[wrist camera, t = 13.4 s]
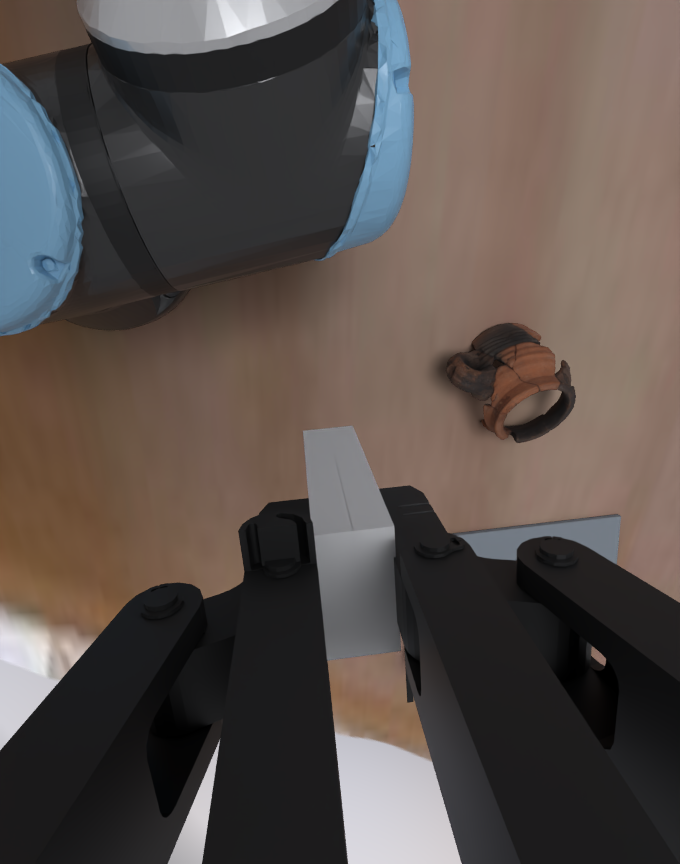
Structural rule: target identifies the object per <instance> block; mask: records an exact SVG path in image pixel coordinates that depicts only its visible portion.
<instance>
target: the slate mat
mask: <svg viewBox="0 0 680 864" xmlns="http://www.w3.org/2000/svg"><path fill="white" fill-rule="evenodd" d="M620 519H621V516H620V515H618V514H615V515H607V516H598V517H590V518H581V519H573V520H564V521H556V522H547V523H538V524H530V525H521V526H513V527H504V528H496V529H487V530H479V531H470V532H462V533H453V534H454V535H456V536H458V537H461V538H463V539H464V540H465V541H466V542H467V543H469V544H470V546H471V547H472V549H473V550H474V552H475V553H476V555H477V556H479V557H483V558H491V559H502V560H517V548H518V547H519V546H520V544H521V543H522V542H525V541H527V540H529V539H531V538H538V537H543V536H551V537H553V536H556V537H562V538H564V539H568V540H573V541H576V542H578V543H580V544H582V545H584V546H587V547H588V548H590V549H592V550H593V551H595V552H597V553H598V554H600V555H602V556H603V557H605V558H606V559H608V560H610V561H611V562H613V563H615V564H616V565H617V553H618V542H619V531H620Z"/></svg>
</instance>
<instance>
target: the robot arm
mask: <svg viewBox="0 0 680 864" xmlns="http://www.w3.org/2000/svg"><path fill="white" fill-rule="evenodd" d="M77 9H78V13H79V15H80V17H81V20H82V22H83V24H84V26H85V28H86V31H87V33H88V35H89V37H90V39H91V42H92V43H90V44H88V45H84V46H79V47H75V48H71V49H66V50H60V51H56V52H52V53H48V54H43V55H39V56H35V57H31V58H26V59H22V60H18V61H13V62H9V63H5V64H0V336H4V335H13V334H18V333H20V332H23V331H27V330H29V329H32V328H34V327H36V326H38V325H40V324H45V323H50V322H54V321H59V320H64V319H65V320H67V321H69V322H72V323H74V324H77V325H80V326H84V327H88V328H93V329H99V330H124V329H130V328H135V327H138V326H142V325H145V324H147V323H150V322H153V321H155V320H157V319H159V318H161V317H162V316H164V315H166V314H167V313H169V312H170V311H171V310H172V309H174V308H175V307H176V306H177V305H178V304H179V303H180V302H181V301H182V300H183V298H184V297H185V296H186V294H187V293H188V292H189V290H190V289H191V288H196V287H200V286H204V285H208V284H213V283H217V282H221V281H226V280H230V279H234V278H238V277H243V276H247V275H251V274H255V273H260V272H264V271H268V270H272V269H277V268H281V267H285V266H289V265H294V264H298V263H302V262H306V261H311V260H316V261H321V260H325V259H326V258H330V257H332V256H333V255H334V254H336V253H337V252H339V251H343V250H346V249H349V248H353V247H356V246H359V245H363V244H366V243H369V242H372V241H374V240H375V239H377V238H378V237H380V236H382V235H383V234H384V233H385V232H386V231H387V230H388V229H389V228H390V226H391V225H392V223H393V222H394V220H395V218H396V216H397V215H398V212H399V210H400V208H401V205H402V202H403V199H404V196H405V192H406V188H407V183H408V178H409V172H410V165H411V156H412V145H413V126H414V103H413V95H412V94H411V93H410V90H409V87H408V82H409V75H410V68H411V61H410V52H409V44H408V37H407V33H406V28H405V23H404V19H403V16H402V12H401V9H400V6H399V4H398V2H397V0H77ZM303 437H304V448H305V460H306V472H307V483H308V495H309V498H306V499H297V500H288V501H279V502H270V503H268V504H267V505H266V506H265V507H264V509H263V510H262V511H261V512H260V513H259V515H258V516H255V517H253V518H250V519H249V520H248V521H246V522H245V523H243V524H242V526H241V527H240V529H239V531H238V532H239V538H240V545H241V552H242V558H243V565H244V571H245V572H244V579H243V582H242V583H241V584H239V585H238V586H236V587H234V588H233V589H231V590H229V591H226V592H224V593H221V594H219V595H216V596H212V597H209V598H206V599H203V596H202V594H201V591H200V589H198V588H197V587H195V586H193V585H192V584H185V583H170V584H169V583H166V584H161V585H160V586H158V585H157V586H155V587H152V588H150V589H148V590H146V591H144V592H142V593H140V594H138V595H136V596H135V597H134V598H133V599H132V600H131V601H129V602H128V603H127V604H126V605H125V606H124V607H123V608H122V610H121V611H120V612H119V613H118V614H117V615H116V617H115V618H114V619H113V620H112V621H111V622H110V624H109V625H108V626H107V627H106V628H105V629H104V631H103V632H102V633H101V634H100V635H99V636H98V638H97V639H96V640H95V641H94V642H93V643H92V645H91V646H90V647H89V648H88V649H87V650H86V651H85V653H84V654H83V655H82V656H81V657H80V658H79V660H78V661H77V662H76V663H75V664H74V665H73V667H72V668H71V669H70V670H69V671H68V672H67V674H66V675H65V676H64V677H63V678H62V679H61V681H60V682H59V683H58V684H57V685H56V686H55V688H54V689H53V690H52V691H51V692H50V693H49V695H48V696H47V697H46V698H45V699H44V700H43V701H42V703H41V704H40V705H39V706H38V707H37V709H36V710H35V711H34V712H33V713H32V714H31V715H30V717H29V718H28V719H27V720H26V721H25V723H24V724H23V725H22V726H21V727H20V728H19V729H18V731H17V732H16V733H15V734H14V735H13V736H12V738H11V739H10V740H9V741H8V742H7V743H6V745H5V746H4V747H3V748H2V749H1V750H0V864H168V861H169V859H170V856H171V854H172V852H173V849H174V847H175V845H176V842H177V840H178V837H179V835H180V833H181V830H182V828H183V825H184V823H185V821H186V818H187V816H188V814H189V811H190V809H191V806H192V804H193V802H194V799H195V797H196V794H197V792H198V790H199V787H200V785H201V783H202V780H203V778H204V776H205V773H206V771H207V768H208V766H209V764H210V761H211V759H212V756H213V754H214V752H215V749H216V747H217V744H218V742H219V740H220V745H219V752H218V758H217V765H216V772H215V779H214V786H213V792H212V799H211V806H210V814H209V820H208V828H207V834H206V841H205V848H204V854H203V861H202V864H348V859H347V850H346V839H345V830H344V821H343V810H342V800H341V790H340V781H339V771H338V761H337V751H336V742H335V731H334V721H333V711H332V702H331V692H330V682H329V672H328V663H327V661H328V660H335V659H343V658H350V657H358V656H366V655H373V654H381V653H389V652H396V651H401V643H400V633H401V636H402V639H403V643H404V646H405V665H406V685H407V703H408V702H413V696H414V700H415V703H416V707H417V710H418V714H419V717H420V721H421V724H422V728H423V731H424V734H425V738H426V741H427V745H428V748H429V752H430V755H431V759H432V762H433V765H434V769H435V772H436V775H437V779H438V782H439V786H440V790H441V793H442V797H443V800H444V804H445V807H446V810H447V814H448V817H449V821H450V824H451V828H452V831H453V835H454V838H455V842H456V845H457V849H458V852H459V855H460V859H461V862H462V864H680V603H679V602H677V601H676V600H674V599H672V598H671V597H669V596H667V595H666V594H664V593H662V592H661V591H659V590H658V589H656V588H654V587H653V586H651V585H649V584H648V583H646V582H644V581H643V580H641V579H639V578H638V577H636V576H634V575H633V574H631V573H630V572H628V571H626V570H625V569H623V568H621V567H620V566H618V565H616V564H615V563H613V562H611V561H610V560H608V559H606V558H605V557H603V556H602V555H600V554H598V553H597V552H595V551H593V550H592V549H590V548H588V547H587V546H584V545H582V544H580V543H578V542H576V541H573V540H568V539H564V538H562V537H556V536H553V537H551V536H543V537H538V538H531V539H529V540H527V541H525V542H522V543H521V544H520V546H519V547H518V548H517V560H502V559H491V558H483V557H479V556H477V555H476V553H475V552H474V550H473V549H472V547H471V546H470V544H469V543H467V542H466V541H465V540H464V539H463V538H461V537H458V536H456V535H454V534H450V533H447V531H446V530H445V528H444V526H443V525H442V523H441V521H440V520H439V518H438V516H437V515H436V513H435V512H434V510H433V508H432V507H431V505H430V504H429V502H428V500H427V498H426V497H425V495H424V493H422V492H421V491H419V490H417V489H415V488H414V487H412V486H401V487H392V488H383V489H379V488H378V486H377V483H376V481H375V478H374V476H373V474H372V471H371V469H370V466H369V464H368V462H367V459H366V457H365V454H364V452H363V449H362V447H361V445H360V442H359V440H358V437H357V435H356V433H355V430H354V428H353V426H345V427H335V428H325V429H316V430H306V431H303ZM592 646H593V647H594V648H595V649H597V650H598V651H599V652H600V653H601V654H602V655H603V656H604V657H605V658H606V664H605V666H603V665H602V664H600V663H599V662H598V661H596V660H595V659H594V658H593V657H592V656H591V648H592Z"/></svg>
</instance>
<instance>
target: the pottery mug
mask: <svg viewBox="0 0 680 864" xmlns="http://www.w3.org/2000/svg"><path fill="white" fill-rule="evenodd" d="M540 339H541V336H540V335H539V334H538V333H537V332H535V331H533V330H531V329H529V328H528V327H526V326H524V325H522V324H517V323H506V324H501V325H497V326H495V327H492V328H490V329H488V330H486V331H484V332H483V333H482V334H481V335H479V336H478V337H477V338H476V339H475V340H474V341H473V342H472V345H473V346H474V348H475V350H476V351H471V352H469V353H457V354H456V355H454V356H453V357H451V358H450V359H449V361H448V364H447V368H446V373H447V376H448V378H449V379H450V381H451V382H452V383H453V384H454V385H455V386H456V387H458V388H460V389H462V390H464V391H466V392H469V393H471V395H472V396H473V397H474V398H477V399H478V400H480V401H485V400H487V399H488V398H489V397H491V401H492V402H491V405H490V404H484V406H483V411H484V419H483V420H481V422H482V424H483V426H485V427H486V428H487V429H488V430H490V431H492V432H495V434H496V436H498V437H499V438H500V439H501V440H504V439H506V438H507V437H508V435H512V436H513V438H514V440H515V441H516V442H517V443H521V442H526V441H530V440H533V439H536V438H538V437H541V436H543V435H544V434H546V433H548V432H549V431H550V430H552V429H554V428H555V427H557V426H558V425H559V424H560V423H561V422H562V421H563V420H565V419H566V417H567V416H568V415H569V414H570V412H571V411H572V409H573V407H574V404H575V398H576V395H575V390H574V386H571V375H570V367H569V366H568V364H567V363H566V361H564V360H562V361H561V368H560V370H559V371H558V372H557V373H556V374H555V355H554V354H553V353H552V351H551V350H550V349H549V348H548V347H544V346H541V345H540V342H538V341H540ZM494 360H498V361H500V362H501V363H503V365H501V366H499V367H498V368H495V367H494V366H492V365H493V362H494ZM557 389H558V390H560V391H562V393H561V396H560V398H559V399H558V401H557V402H556V403H555V404H554V405H553V406H552V407H551V408H550V409H549V410H548V411H547V413H546V414H545V415H543V414H542V415H540V416H538V417H537V418H535V419H534V420H532V421H530V422H528V423H526V424H523V425H517V426H503V424H504V420H505V418H506V416H507V413H508V412H510V410H511V409H512V408H513V407H515V406H516V405H517V404H518V403H520V402H521V401H522V400H524V399H525V398H527V397H529V396H531V395H533V394H535V393H537V392H539V391H545V390H557Z"/></svg>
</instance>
